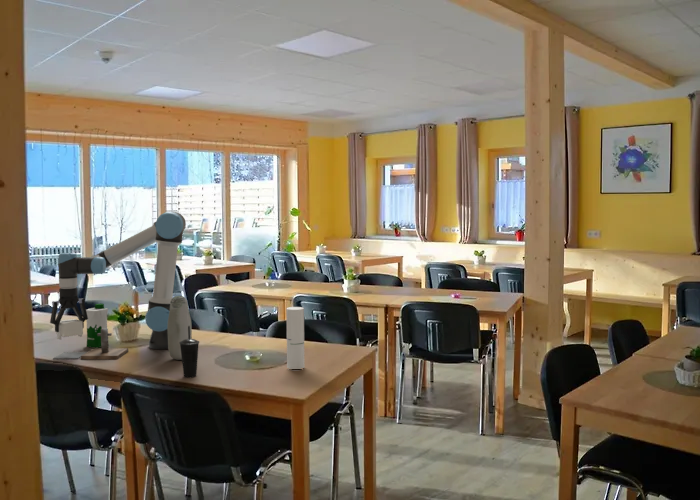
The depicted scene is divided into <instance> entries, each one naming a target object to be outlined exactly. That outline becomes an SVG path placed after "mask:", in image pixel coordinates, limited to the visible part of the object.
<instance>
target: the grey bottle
mask: <svg viewBox="0 0 700 500" xmlns="http://www.w3.org/2000/svg"><path fill="white" fill-rule="evenodd" d="M188 326H190V339H193V338H192V335H193V334H192V332H193V331H192V318H191V315H190V311H189V303H188V300H187V298H186V297H185V296H182V295H176V296H174V297H173V296H172V300H171V302H170V312H169V317H168V324H167V331H168V349H167V350H168V353H169V355H170V357H171V358H173V359H174V360H177V361H180V360H181V361H182V356H181V348H180V344H179V343H180V342H181V341H183V340H185V339H188Z"/></svg>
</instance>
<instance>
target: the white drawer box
mask: <svg viewBox="0 0 700 500" xmlns="http://www.w3.org/2000/svg"><path fill="white" fill-rule="evenodd" d="M59 324H60V325H61V338H67V337H75V336H78V335H82V336H83V335H84V328H83V321H80V320H79V319H78V318H72V319H71V318H70V319H69V318H68V319H61V321H60V323H59ZM55 333H56V335H57V332H55Z"/></svg>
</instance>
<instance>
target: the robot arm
mask: <svg viewBox="0 0 700 500" xmlns="http://www.w3.org/2000/svg"><path fill="white" fill-rule="evenodd" d="M186 224H187V223H186V219H185V217H184V215H182V214H181V213H179V212H178V211H166V212H163V213H162V214H160V215H158V218H157V219H156V221H154V222H153V224H152V225H151V226H149V227H147V228H145V229H143V230H141V231H139V232H138V233H136V234H134V235H132V236H130V237H128V238H127V239H124V240H122V241H120V242H118V243H117V244H115V245H113V246H110V247H109V248H106V249H104V250H103V251H101V252H99V253H97V254H94V255H93V256H89V257H87V256H85V257H80V256H78V255H77V253H76V252H62V253H59V254H58V263H57V265H58V287H59V288H58V293H59V294H58V295H59V299H58V300H55V301H54V300H52V301H51V304H52V308H51V315H50V320H49V323H50V324H52V325H54V332H55V333H56V332H57V334H56V338H57V340H60V341H61V340H62V336H61V325H60V324H59V323H60V321H61V320H62V318H63V316H64V314H65V312H66V310H68V309H73V311H74V313H75V315H76V317H77V320H80V321H83V329H84V328H85V325H84V324H85V322H86V320H87V319H88V316H87V312H86V310H87V309H86V308H87V307H86V299H85V298H82V297H81V298H79V296H78V294H79V293H78V289H79V288H78V275H100V274H101V275H102V274H104V273H106V269H107V268H109V267H110V266H112V265H114V264H116V263H118V262H120V261H122V260H124V259H126V258H128V257H130V256H132V255H134V254H136V253H138V252H139V251H142V250H143V249H144V250H145V248H148V247H150V246H151V245H154V244H155V243H157V245H158V247H157V256H156V262H155V263H156V265H155V271H154V273H155V274H154V280H153V281H154V282H153V291H152V297H150V298H149V299H148V303H147V304H148V305H147V312H146V313H145V324H146V326H147V327H148V328H149V329H150V330H151V335H150V337H149V341H148V348H149V349H152V350H153V349H154V350H168V331H167V324H168V317H169V312H170V302H171V300H172V298H173V293H174V286H175V285H174V284H175V276H176V269H177V267H176V265H177V258H178V251H179V250H178V248H179V246H180V245H181V244H182V243H183V237H184V236H183V235H184V232H185V230H186ZM78 303H79V306H80V310H81V311H80V310H79V307H78V305H77V304H78ZM59 305H60V307H59V311H58V306H59ZM77 336H78V337H83V335H77Z"/></svg>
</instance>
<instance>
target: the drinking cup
mask: <svg viewBox="0 0 700 500" xmlns="http://www.w3.org/2000/svg"><path fill="white" fill-rule="evenodd" d="M179 344H180V348H181V356H182V360H181V364H182V371H183V377H184V378H187V379H188V378H190V377H191V378H195V377H197V373H198V372H197V371H198V358H199V344H200V341H199V340H198V339H195V338H192V339H190V326H188V339H185V340H183V341H181V342H180V343H179Z"/></svg>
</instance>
